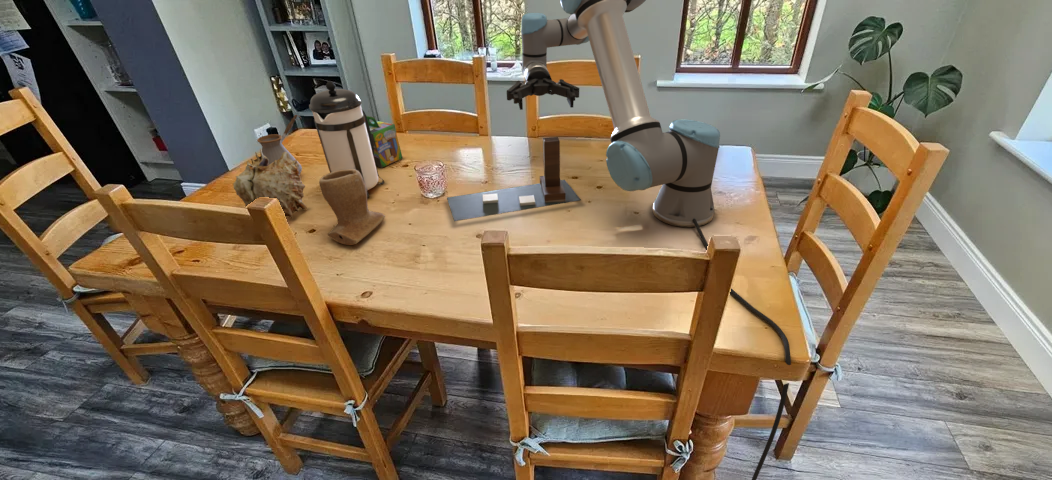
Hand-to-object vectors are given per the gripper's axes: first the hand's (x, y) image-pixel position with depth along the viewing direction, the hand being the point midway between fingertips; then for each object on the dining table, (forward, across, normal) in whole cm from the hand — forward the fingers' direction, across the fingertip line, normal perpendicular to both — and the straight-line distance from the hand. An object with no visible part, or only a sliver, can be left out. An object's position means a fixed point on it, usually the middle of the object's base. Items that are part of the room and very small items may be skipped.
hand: (546, 103), depth 128 cm
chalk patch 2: (+15, +7, -21) cm, 26 cm away
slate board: (+12, +11, -22) cm, 28 cm away
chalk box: (-25, +51, -25) cm, 62 cm away
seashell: (+8, +72, -24) cm, 77 cm away
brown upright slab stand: (+10, 0, -21) cm, 23 cm away
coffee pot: (-20, +77, -25) cm, 84 cm away
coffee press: (-5, +54, -24) cm, 60 cm away
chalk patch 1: (+12, +17, -21) cm, 29 cm away
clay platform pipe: (+20, +51, -23) cm, 59 cm away
